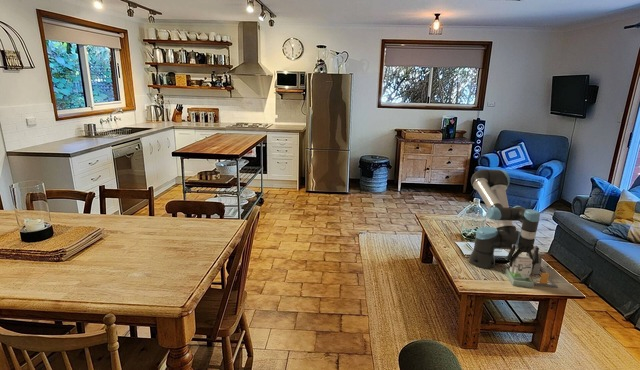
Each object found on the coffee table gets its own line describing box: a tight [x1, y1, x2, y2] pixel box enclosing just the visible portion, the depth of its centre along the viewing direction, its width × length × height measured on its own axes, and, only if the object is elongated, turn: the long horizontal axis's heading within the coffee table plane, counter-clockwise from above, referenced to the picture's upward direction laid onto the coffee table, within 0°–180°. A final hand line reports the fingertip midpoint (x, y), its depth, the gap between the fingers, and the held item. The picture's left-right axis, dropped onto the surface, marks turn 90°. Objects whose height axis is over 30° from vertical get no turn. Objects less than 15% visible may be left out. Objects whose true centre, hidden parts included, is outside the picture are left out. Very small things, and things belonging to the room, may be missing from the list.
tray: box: [504, 267, 535, 288], centre depth 212 cm, size 11×15×3 cm
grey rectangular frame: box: [529, 263, 558, 288], centre depth 218 cm, size 14×28×7 cm, turn 170°
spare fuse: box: [525, 248, 543, 273], centre depth 223 cm, size 5×9×12 cm, turn 170°
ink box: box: [511, 254, 533, 278], centre depth 209 cm, size 9×5×12 cm, turn 89°
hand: (520, 272), depth 211 cm, fingers closed on ink box, 9 cm apart
